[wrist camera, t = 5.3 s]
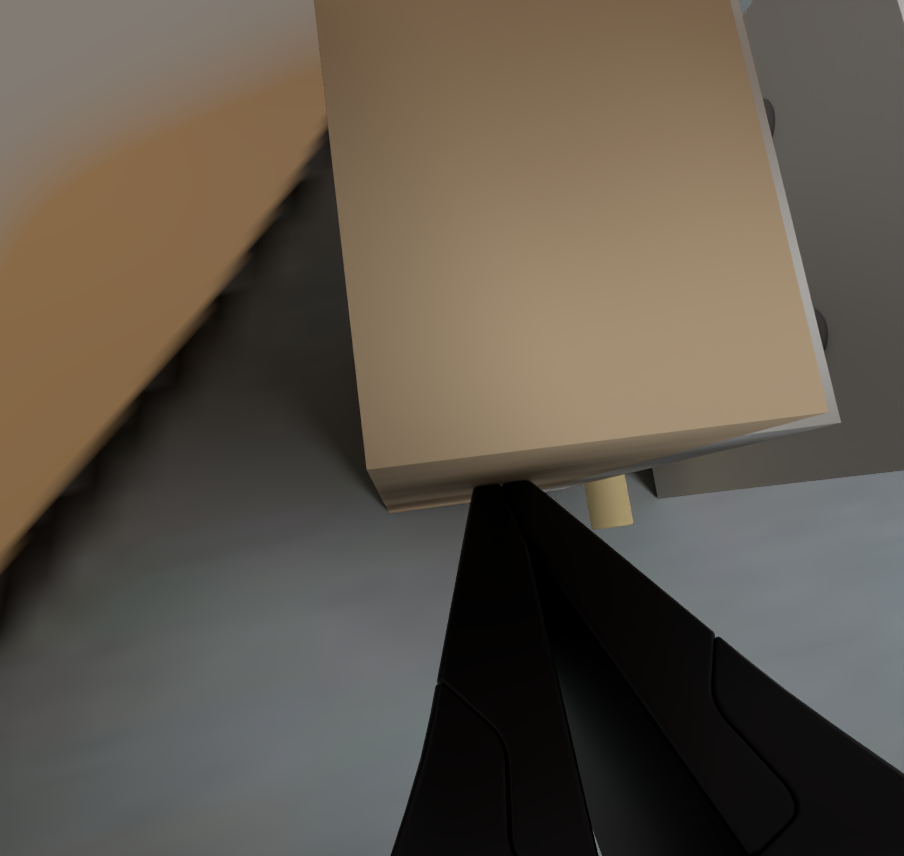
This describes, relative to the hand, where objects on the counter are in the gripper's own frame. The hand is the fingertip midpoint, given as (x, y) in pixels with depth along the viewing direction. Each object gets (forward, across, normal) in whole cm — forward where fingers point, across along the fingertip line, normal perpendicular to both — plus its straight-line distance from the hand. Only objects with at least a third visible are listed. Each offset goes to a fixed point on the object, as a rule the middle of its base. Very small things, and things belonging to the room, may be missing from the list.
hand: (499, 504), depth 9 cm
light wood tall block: (+7, -2, +3) cm, 8 cm away
